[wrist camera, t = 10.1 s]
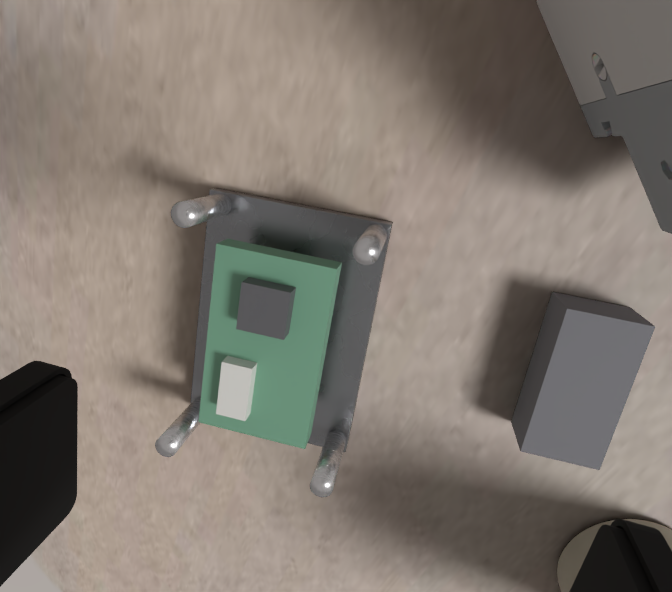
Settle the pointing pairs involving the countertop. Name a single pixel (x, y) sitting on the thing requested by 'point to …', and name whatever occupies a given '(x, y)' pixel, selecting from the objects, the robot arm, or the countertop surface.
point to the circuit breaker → (623, 80)
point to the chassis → (348, 314)
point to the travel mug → (580, 547)
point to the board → (266, 340)
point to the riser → (579, 379)
